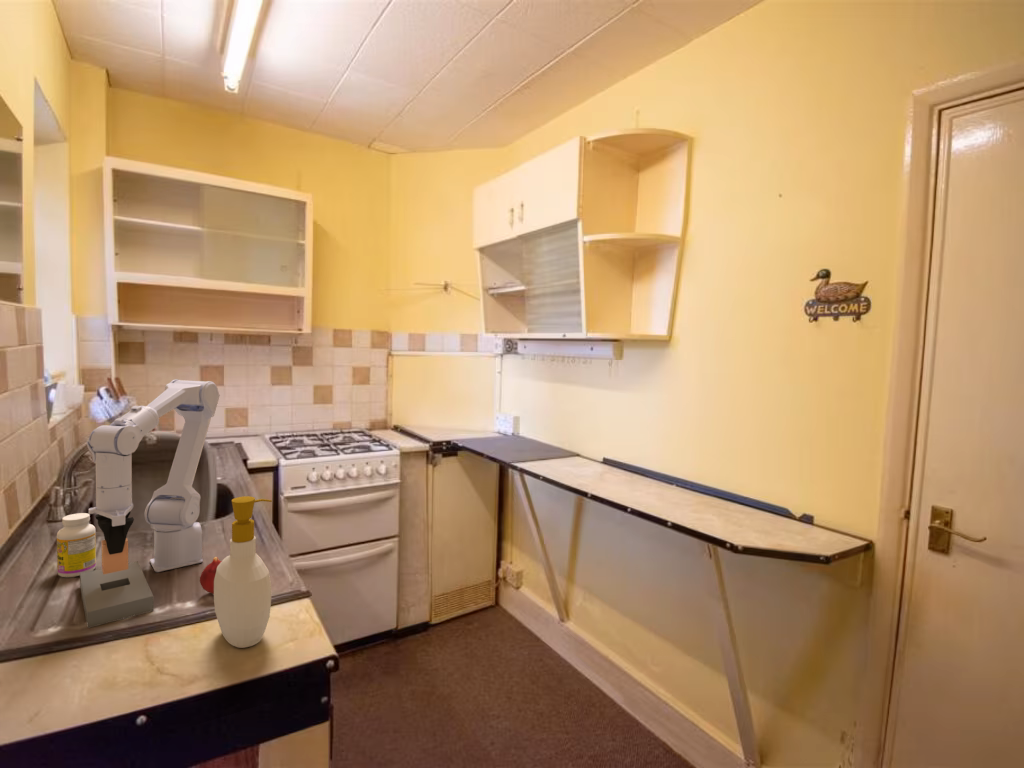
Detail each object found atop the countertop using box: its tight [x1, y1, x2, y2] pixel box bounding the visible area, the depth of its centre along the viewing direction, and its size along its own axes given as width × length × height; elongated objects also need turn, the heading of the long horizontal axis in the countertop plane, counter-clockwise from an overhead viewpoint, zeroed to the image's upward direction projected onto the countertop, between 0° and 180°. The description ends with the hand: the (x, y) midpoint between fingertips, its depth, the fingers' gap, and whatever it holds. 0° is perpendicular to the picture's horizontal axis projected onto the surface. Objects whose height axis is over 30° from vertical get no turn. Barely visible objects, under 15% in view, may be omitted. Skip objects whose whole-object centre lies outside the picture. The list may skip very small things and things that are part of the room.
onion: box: [199, 556, 223, 595], centre depth 108 cm, size 6×6×8 cm
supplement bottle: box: [56, 512, 97, 578], centre depth 114 cm, size 7×7×13 cm
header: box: [79, 560, 154, 629], centre depth 104 cm, size 10×20×3 cm, turn 43°
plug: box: [101, 536, 129, 574], centre depth 104 cm, size 4×3×6 cm
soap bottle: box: [213, 495, 273, 649], centre depth 93 cm, size 14×9×26 cm, turn 48°
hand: (114, 550), depth 104 cm, fingers closed on plug, 3 cm apart
